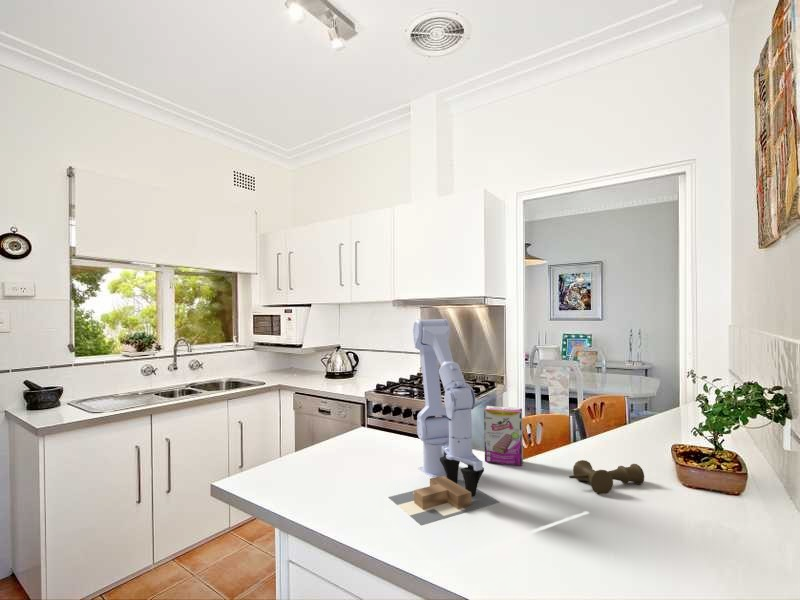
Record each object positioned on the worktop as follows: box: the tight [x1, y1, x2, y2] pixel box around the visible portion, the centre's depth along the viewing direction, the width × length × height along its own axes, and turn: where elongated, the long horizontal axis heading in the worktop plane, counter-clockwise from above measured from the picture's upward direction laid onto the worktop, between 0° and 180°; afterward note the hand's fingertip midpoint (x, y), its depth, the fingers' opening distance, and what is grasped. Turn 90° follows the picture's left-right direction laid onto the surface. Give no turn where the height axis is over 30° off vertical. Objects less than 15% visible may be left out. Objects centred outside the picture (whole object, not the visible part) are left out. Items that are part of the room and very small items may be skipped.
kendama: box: [568, 459, 645, 495], centre depth 110 cm, size 6×10×20 cm
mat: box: [388, 479, 500, 526], centre depth 102 cm, size 22×16×1 cm
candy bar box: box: [483, 405, 524, 467], centre depth 129 cm, size 11×5×16 cm, turn 71°
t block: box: [413, 475, 472, 509], centre depth 102 cm, size 11×12×3 cm
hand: (461, 490), depth 105 cm, fingers open, 7 cm apart
